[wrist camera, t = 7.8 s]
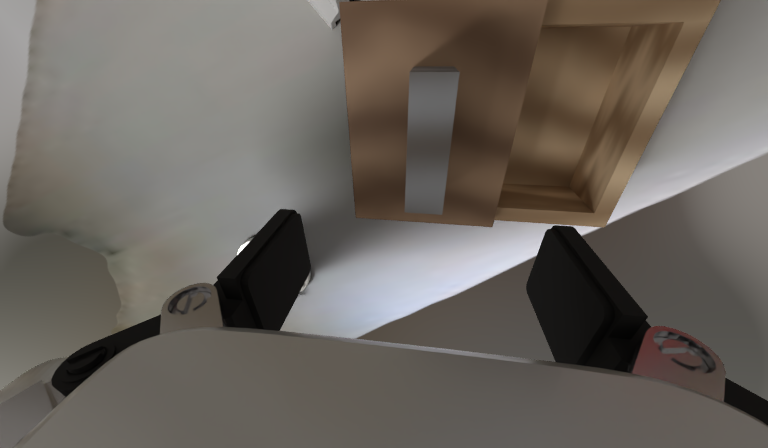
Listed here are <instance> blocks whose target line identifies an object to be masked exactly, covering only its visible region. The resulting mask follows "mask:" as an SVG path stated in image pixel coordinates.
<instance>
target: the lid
mask: <svg viewBox="0 0 768 448" xmlns="http://www.w3.org/2000/svg"><path fill="white" fill-rule="evenodd" d="M547 2H548V0H379V1H348V2H339V7H340V20H341V33H342V46H343V59H344V72H345V85H346V98H347V111H348V124H349V137H350V150H351V163H352V176H353V189H354V202H355V214H356V218H369V219H383V220H397V221H412V222H426V223H441V224H455V225H470V226H484V227H492V226H493V222H494V218H495V214H496V210H497V206H498V202H499V198H500V194H501V190H502V186H503V181H504V177H505V173H506V169H507V165H508V161H509V157H510V153H511V149H512V145H513V141H514V137H515V133H516V128H517V124H518V120H519V116H520V112H521V108H522V104H523V100H524V96H525V92H526V88H527V84H528V79H529V75H530V71H531V67H532V63H533V59H534V55H535V51H536V47H537V43H538V39H539V35H540V30H541V26H542V22H543V18H544V14H545V10H546V6H547Z"/></svg>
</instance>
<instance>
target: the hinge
mask: <svg viewBox="0 0 768 448" xmlns="http://www.w3.org/2000/svg"><path fill="white" fill-rule="evenodd" d="M307 1H308V2H309V3H310V4H311V5H312V7H313V8H314V9H315V10H316V11H317V13H318V14H319V15H320V16H321V17H322V18H323V20H324V21H325V22H326V23H327V24H328V26H329V27H330V28H331V29H332V30H333V29H334V28H335V27H336V21H337V20H339V19H340V7H339V2H348V1H352V0H307Z"/></svg>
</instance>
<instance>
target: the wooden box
mask: <svg viewBox="0 0 768 448" xmlns="http://www.w3.org/2000/svg"><path fill="white" fill-rule="evenodd" d="M720 1H721V0H548V2H547V6H546V10H545V14H544V18H543V22H542V26H541V30H540V35H539V39H538V43H537V47H536V51H535V55H534V59H533V63H532V67H531V71H530V75H529V79H528V84H527V88H526V92H525V96H524V100H523V104H522V108H521V112H520V116H519V120H518V124H517V128H516V133H515V137H514V141H513V145H512V149H511V153H510V157H509V161H508V165H507V169H506V173H505V177H504V181H503V186H502V190H501V194H500V198H499V202H498V206H497V210H496V214H495V218H494V220H502V221H517V222H532V223H547V224H563V225H578V226H593V227H605V226H606V224H607V222H608V220H609V218H610V216H611V214H612V212H613V210H614V208H615V206H616V204H617V202H618V200H619V198H620V196H621V194H622V193H623V191H624V189H625V187H626V185H627V183H628V181H629V179H630V177H631V175H632V173H633V171H634V169H635V167H636V165H637V163H638V161H639V159H640V157H641V155H642V153H643V151H644V150H645V148H646V146H647V144H648V142H649V140H650V138H651V136H652V134H653V132H654V130H655V128H656V126H657V124H658V122H659V120H660V118H661V116H662V114H663V112H664V110H665V108H666V107H667V105H668V103H669V101H670V99H671V97H672V95H673V93H674V91H675V89H676V87H677V85H678V83H679V81H680V79H681V77H682V75H683V73H684V71H685V69H686V67H687V65H688V64H689V62H690V60H691V58H692V56H693V54H694V52H695V50H696V48H697V46H698V44H699V42H700V40H701V38H702V36H703V34H704V32H705V30H706V28H707V26H708V24H709V23H710V21H711V19H712V17H713V15H714V13H715V11H716V9H717V7H718V5H719V3H720Z"/></svg>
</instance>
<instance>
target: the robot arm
mask: <svg viewBox="0 0 768 448" xmlns="http://www.w3.org/2000/svg"><path fill="white" fill-rule="evenodd" d="M310 269H311V265H310V260H309V255H308V250H307V244H306V239H305V234H304V229H303V224H302V219H301V215H300V214H297V212H296V211H295V210H287V209H280V210H279V211H278V212H277V213H276V214H275V215H274V216H273V217H272V218H271V219H270V220H269V221H268V222H267V224H266V225H265V226H264V227H263V228H262V229H261V230H260V231H259V232H258V233H257V234H256V235H255V236H254V237H252V238H250V239H248V240H246V241H245V242H244V243H243V244H242V245H241V246H240V248H239V249H238V251H237V256H236V257H235V258H234V259H233V260H232V261H231V262H230V264H229V265H228V266H227V267H226V268H225V269H224V270H223V271H222V272H221V273H220V274H219V275H218V277H217V279H218V281H217V282H216V283H215V284H214V285H212V284H209V283H197V284H193V285H189V286H187V287H184V288H182V289H180V290H178V291H177V292H175V293H174V294H172V295H171V296H170V297H169V298H168V299H167V300H166V301H165V303H164V304H163V306H162V309H161V315H159V316H156V317H154V318H152V319H149V320H147V321H144V322H142V323H139V324H137V325H135V326H132V327H130V328H127V329H125V330H122V331H120V332H118V333H115V334H113V335H110V336H108V337H105V338H103V339H101V340H98V341H96V342H94V343H91V344H89V345H87V346H85V347H83V348H81V349H80V350H78V351H76V352H75V353H73V354H72V355H71V356H69V357H63V358H56V359H52V360H49V361H46V362H44V363H41V364H39V365H37V366H35V367H33V368H31V369H30V370H28V371H26V372H25V373H23V374H22V375H20V376H19V377H18V378H16V379H15V380H14V381H12V382H11V383H9V384H8V385H7V386H5V387H4V388H3V389H2V390H0V448H768V401H767V400H765V399H763V398H761V397H759V396H757V395H756V394H754V393H752V392H750V391H748V390H747V389H745V388H743V387H741V386H739V385H738V384H736V383H734V382H732V381H730V380H729V379H727V378H725V374H726V372H725V368H724V364H723V363H722V361H721V360H720V358H719V357H718V356H717V355H716V354H715V353H714V352H713V351H712V350H711V349H710V348H709V347H707V346H706V345H705V344H703V343H702V342H700V341H699V340H697V339H696V338H694V337H692V336H690V335H688V334H686V333H684V332H681V331H679V330H676V329H673V328H669V327H665V326H655V327H651V326H650V325H649V324H648V323H647V322H646V319H647V317H648V316H647V315H646V314H645V313H644V312H643V310H642V309H641V308H640V307H639V305H638V304H637V303H636V302H635V301H634V299H633V298H632V297H631V296H630V295H629V293H628V292H627V291H626V290H625V288H624V287H623V286H622V285H621V284H620V282H619V281H618V280H617V279H616V278H615V276H614V275H613V274H612V273H611V272H610V271H609V269H608V268H607V267H606V266H605V264H604V263H603V262H602V261H601V260H600V259H599V257H598V256H597V255H596V253H594V251H593V250H592V249H591V248H590V246H589V245H588V244H587V243H586V241H585V240H584V239H583V238H582V237H581V235H580V234H579V233H578V232H577V231H576V229H575V228H574V227H571V226H553V227H552V228H551V229H548V230H547V231H546V232H545V235H544V238H543V240H542V243H541V246H540V249H539V251H538V254H537V257H536V260H535V262H534V265H533V268H532V271H531V273H530V276H529V279H528V282H527V286H526V289H527V294H528V296H529V298H530V301H531V303H532V306H533V308H534V310H535V313H536V315H537V318H538V320H539V323H540V325H541V327H542V330H543V332H544V335H545V337H546V340H547V342H548V344H549V346H550V349H551V352H552V354H553V356H554V359H555V361H556V362H551V361H544V360H535V359H526V358H518V357H509V356H501V355H493V354H484V353H475V352H467V351H459V350H449V349H441V348H432V347H423V346H415V345H406V344H397V343H388V342H379V341H369V340H361V339H351V338H342V337H333V336H323V335H314V334H305V333H295V332H285V331H280V329H281V327H282V325H283V323H284V321H285V319H286V317H287V315H288V313H289V312H290V310H291V308H292V306H293V304H294V302H295V300H296V298H297V296H298V294H299V293H300V292H301V291H303V290H304V289H305V288H306V287H307V285H308V283H309V281H310V278H311V270H310Z"/></svg>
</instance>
